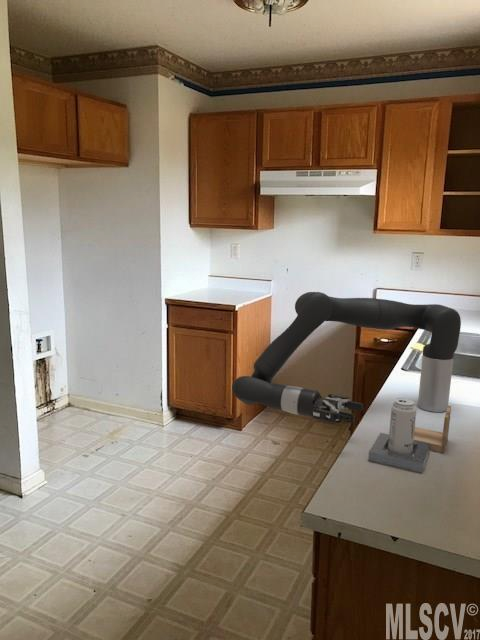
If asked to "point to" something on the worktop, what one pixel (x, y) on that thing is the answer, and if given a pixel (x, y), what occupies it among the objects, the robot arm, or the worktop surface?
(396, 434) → the energy drink can
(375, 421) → the worktop surface
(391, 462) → the socket block
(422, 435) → the wooden l-shaped stand
